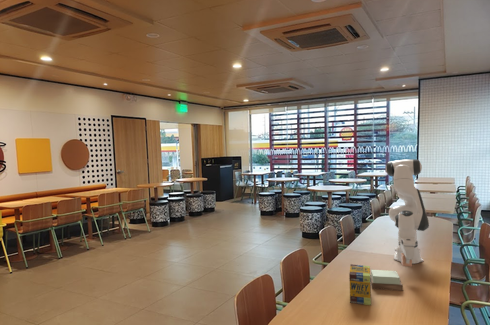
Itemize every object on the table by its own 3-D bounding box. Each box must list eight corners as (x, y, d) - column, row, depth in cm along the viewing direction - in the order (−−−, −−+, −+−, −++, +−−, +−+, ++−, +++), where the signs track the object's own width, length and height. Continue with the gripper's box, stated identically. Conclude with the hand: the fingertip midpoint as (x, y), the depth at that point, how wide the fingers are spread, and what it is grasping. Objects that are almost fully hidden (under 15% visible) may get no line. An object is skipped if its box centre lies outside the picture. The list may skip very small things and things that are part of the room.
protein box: (349, 303, 170) (349, 274, 170) (351, 290, 185) (350, 263, 184) (371, 305, 167) (370, 276, 166) (370, 292, 181) (369, 265, 180)
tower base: (370, 281, 197) (370, 274, 197) (398, 283, 193) (398, 276, 193) (372, 289, 186) (371, 283, 186) (402, 292, 181) (402, 285, 181)
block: (401, 262, 197) (401, 252, 196) (410, 263, 195) (410, 253, 195) (402, 265, 192) (402, 256, 191) (411, 266, 190) (411, 256, 190)
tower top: (371, 276, 195) (371, 269, 195) (396, 277, 192) (396, 270, 192) (373, 282, 186) (373, 276, 186) (399, 284, 182) (399, 277, 182)
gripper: (397, 232, 203) (397, 254, 204) (403, 243, 183) (403, 267, 185) (408, 233, 201) (408, 254, 202) (416, 244, 182) (416, 268, 183)
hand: (406, 261), depth 193 cm, fingers closed on block, 5 cm apart
